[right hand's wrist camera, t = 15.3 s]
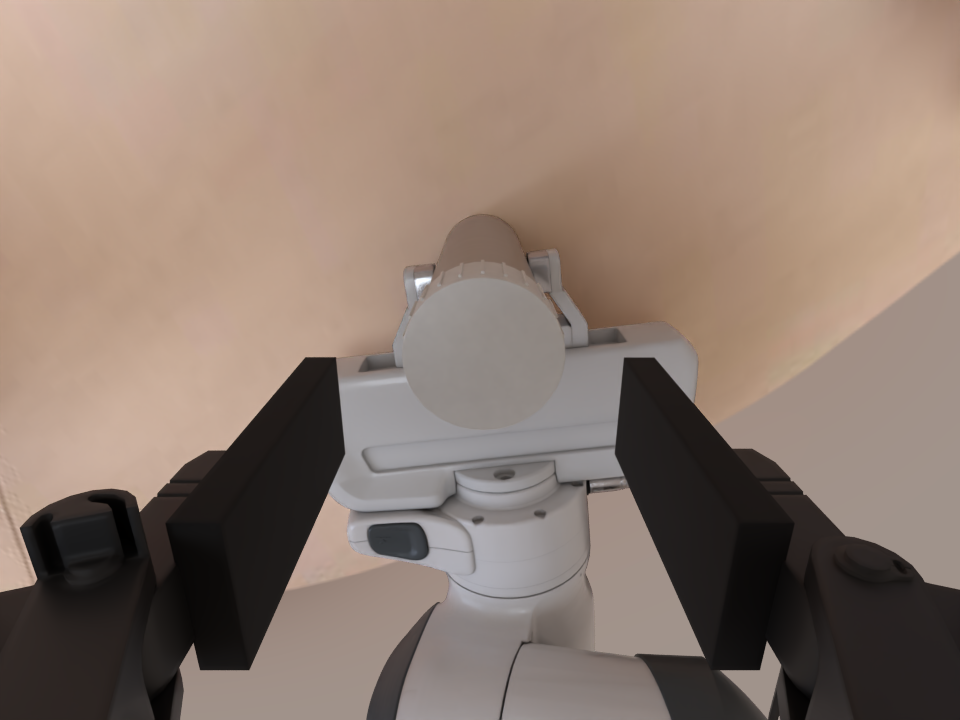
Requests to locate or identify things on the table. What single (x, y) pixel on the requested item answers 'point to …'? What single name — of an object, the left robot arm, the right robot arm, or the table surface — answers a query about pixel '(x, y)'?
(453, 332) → the lid
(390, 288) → the table surface
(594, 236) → the table surface
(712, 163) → the table surface
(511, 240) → the jar
